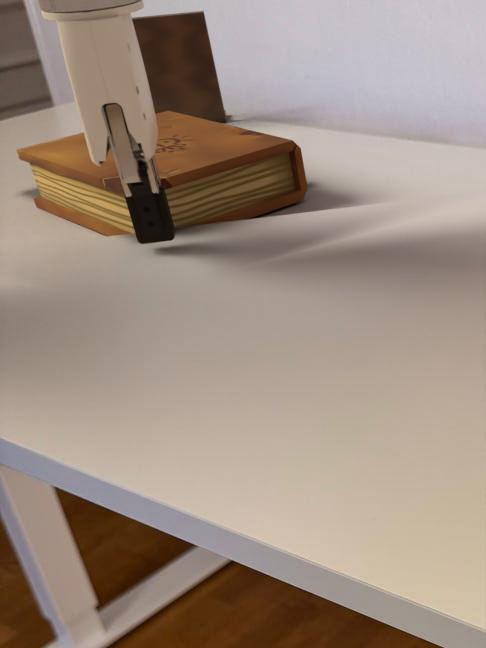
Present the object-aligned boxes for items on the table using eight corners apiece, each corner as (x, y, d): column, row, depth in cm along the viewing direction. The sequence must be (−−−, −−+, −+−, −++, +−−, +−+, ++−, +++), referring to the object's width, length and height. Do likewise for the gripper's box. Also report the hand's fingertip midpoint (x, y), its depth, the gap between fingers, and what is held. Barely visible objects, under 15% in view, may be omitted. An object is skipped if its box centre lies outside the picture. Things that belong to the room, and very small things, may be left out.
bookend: (115, 134, 120) (84, 23, 112) (118, 126, 123) (87, 18, 115) (226, 122, 121) (203, 12, 113) (226, 115, 124) (203, 7, 116)
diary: (309, 200, 96) (299, 138, 92) (149, 254, 87) (131, 188, 83) (187, 162, 109) (174, 106, 105) (36, 206, 99) (15, 147, 95)
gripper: (50, -20, 76) (121, 217, 88) (21, 10, 65) (106, 275, 77) (144, -29, 76) (201, 207, 89) (131, -1, 66) (198, 264, 78)
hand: (157, 238), depth 83 cm, fingers closed
